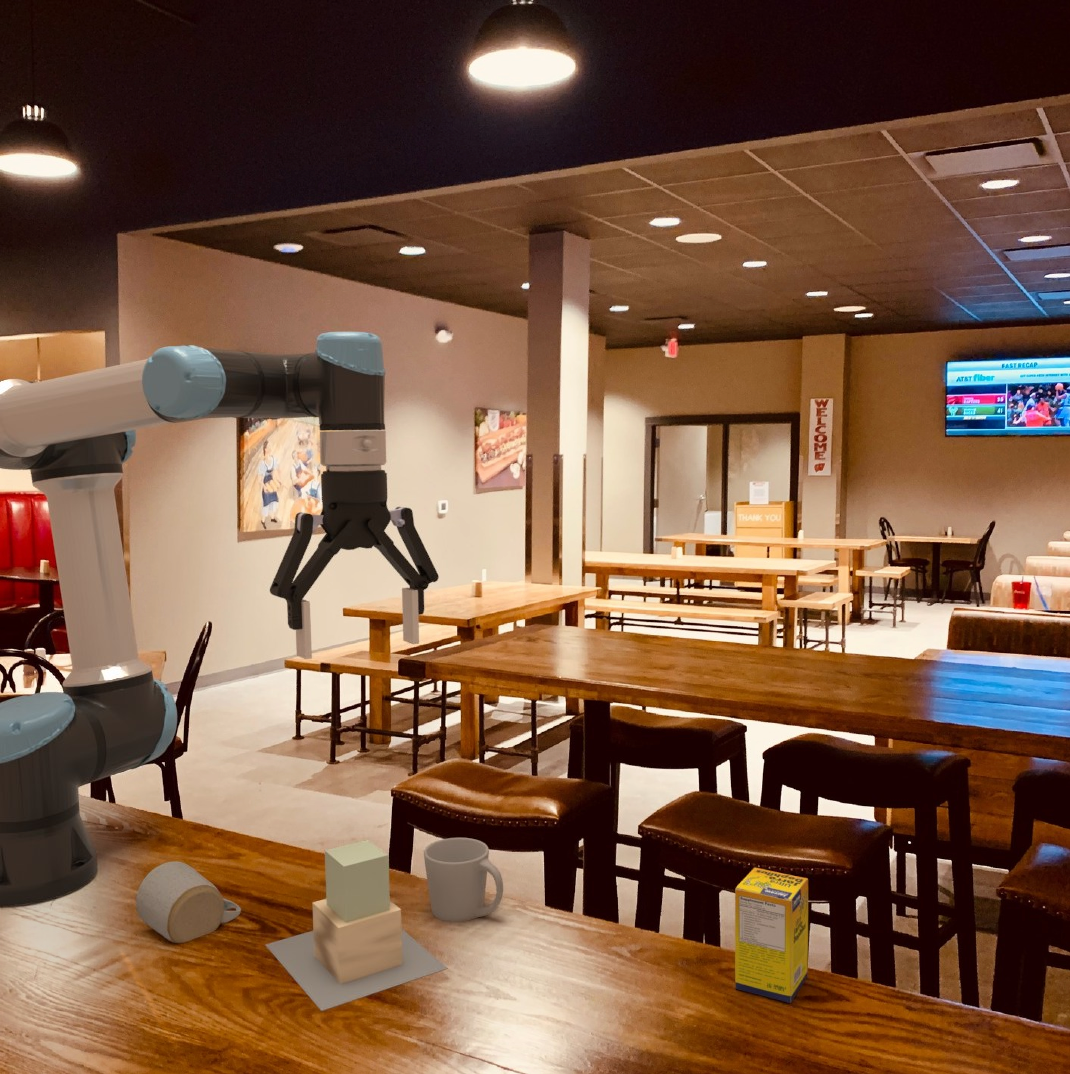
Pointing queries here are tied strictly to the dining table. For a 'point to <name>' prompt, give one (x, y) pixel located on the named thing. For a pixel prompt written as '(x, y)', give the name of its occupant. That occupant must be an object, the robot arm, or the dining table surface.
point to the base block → (356, 942)
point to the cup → (460, 879)
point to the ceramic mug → (181, 903)
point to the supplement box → (771, 934)
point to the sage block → (357, 880)
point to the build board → (331, 993)
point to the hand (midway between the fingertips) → (359, 649)
